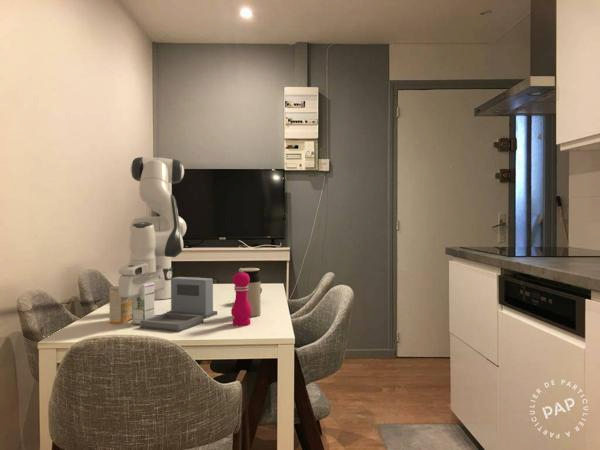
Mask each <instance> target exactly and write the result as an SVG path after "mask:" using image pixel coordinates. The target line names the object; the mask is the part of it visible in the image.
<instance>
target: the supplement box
mask: <svg viewBox="0 0 600 450" xmlns="http://www.w3.org/2000/svg"><path fill="white" fill-rule="evenodd" d="M108 291H109V324H123V323H125V322H127V321H130V320H132V301H131V299H130V297H121V296H120V295H119V291H118V285H115V286H110V287H109V290H108Z"/></svg>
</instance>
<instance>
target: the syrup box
mask: <svg viewBox="0 0 600 450" xmlns="http://www.w3.org/2000/svg"><path fill="white" fill-rule="evenodd" d="M136 299H137V301H138V302H139V303H140V307H138V308H133V303H132V319H131V322H132V324H133V325H141V320H144V319H148V318H151V317H154V316H156V315H155V300H154V283H145V284H143V285H142V294H141V295H138V298H136Z"/></svg>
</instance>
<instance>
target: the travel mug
mask: <svg viewBox="0 0 600 450" xmlns="http://www.w3.org/2000/svg"><path fill="white" fill-rule="evenodd" d="M243 269H244V271H243V272H244V273H247V274H248V275H249V277H250V282H249V283H248V285H247V286H248V290H247V299H248V302H249V304H250V306H251V309H252V313H251V315H250V316H249V318H254V317H258V316H261V315H262V314H261V312H262V311H261V309H262V308H261V294H260V287H261V276H260V274H259V273H260V268H258V267H244V268H243Z"/></svg>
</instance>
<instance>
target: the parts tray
mask: <svg viewBox="0 0 600 450" xmlns="http://www.w3.org/2000/svg"><path fill="white" fill-rule="evenodd" d="M203 323H204V318H203V316H200V315H188V314H177V313H167V312H164V313H161V314H158V315H155V316H154V317H151V318H148V319H144V320H141V324H140V329H148V330H155V331H156V330H157V331H167V332H175V333H180V332H182V331H185V330H189V329H190V328H192V327H193V328H194V327H196V326H198V325H202V324H203Z"/></svg>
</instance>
